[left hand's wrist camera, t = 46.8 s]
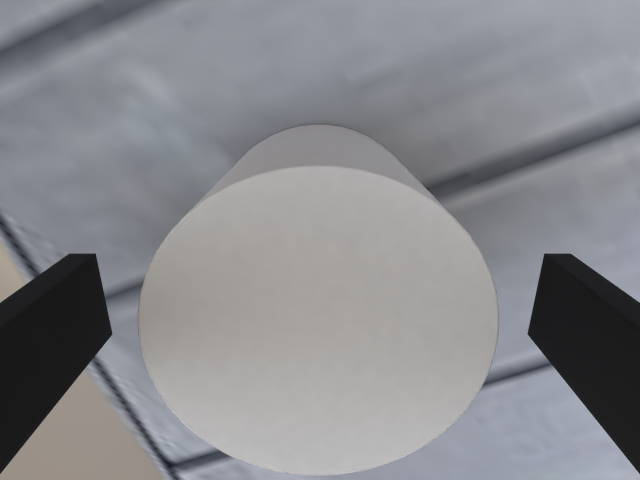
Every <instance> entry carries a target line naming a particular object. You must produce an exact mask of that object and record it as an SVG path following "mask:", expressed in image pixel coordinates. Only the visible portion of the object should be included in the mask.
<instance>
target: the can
mask: <svg viewBox="0 0 640 480" xmlns="http://www.w3.org/2000/svg"><path fill="white" fill-rule="evenodd" d="M498 331H499V309H498V301H497V293H496V290H495V286H494V283H493V279H492V276H491V272H490V270H489V268H488V266H487V264H486V262H485V259H484V257H483V255H482V253H481V251H480V250H479V248H478V247H477V245H476V244H475V242H474V241H473V239H472V238H471V236H470V235H469V233H468V232H467V231H466V230H465V229H464V228H463V227H462V226H461V225H460V223H459V222H458V221H457V220H456V219H455V218H454V217H453V216H452V215H451V214H450V213H449V212H448V211H447V210H446V209H445V208H444V207H443V206H442V205H441V203H440V202H439V201H438V200H437V199H436V198H435V197H434V196H433V195H432V194H431V193H430V192H429V191H428V190H427V189H426V188H425V187H424V186H423V185H422V184H421V183H420V182H419V181H418V180H417V179H416V178H415V177H414V176H413V175H412V174H411V173H410V172H409V171H408V170H407V169H406V168H405V167H404V166H403V165H402V164H401V163H400V162H399V161H398V159H397V158H396V157H395V156H394V155H393V154H392V153H391V152H389V151H388V150H387V149H386V148H385V147H383V146H382V145H381V144H380V143H378V142H376V141H375V140H373V139H371V138H370V137H368V136H366V135H364V134H361V133H359V132H357V131H354V130H351V129H347V128H344V127H340V126H333V125H305V126H297V127H294V128H290V129H286V130H283V131H281V132H278V133H276V134H274V135H271V136H269V137H268V138H266V139H264V140H263V141H261V142H259V143H258V144H257V145H255V146H254V147H253V148H252V149H250V150H249V151H248V152H247V153H246V154H245V155H244V156H243V157H242V158H241V159H240V160H239V161H238V162H237V163H236V164H235V165H234V166H233V167H232V168H231V169H230V170H229V171H228V172H227V173H226V174H225V175H224V176H223V177H222V178H221V179H220V180H219V181H218V182H217V183H216V184H215V185H214V186H213V188H212V189H211V190H210V191H209V192H208V193H207V194H206V195H205V196H204V197H203V198H202V199H201V200H200V201H199V202H198V203H197V204H196V205H195V206H194V207H193V208H192V209H191V210H190V211H189V212H188V213H187V214H186V215H185V216H184V217H183V218H182V219H181V220H180V221H179V223H178V224H177V225H176V226H175V227H174V228H173V229H172V230H171V231H170V232H169V234H168V235H167V237H166V238H165V240H164V241H163V242H162V244H161V245H160V247H159V248H158V250H157V252H156V254H155V256H154V258H153V260H152V262H151V264H150V266H149V268H148V270H147V273H146V276H145V280H144V283H143V286H142V289H141V295H140V302H139V309H138V333H139V339H140V345H141V351H142V355H143V358H144V361H145V364H146V367H147V370H148V373H149V375H150V377H151V379H152V381H153V383H154V385H155V387H156V389H157V391H158V392H159V394H160V395H161V397H162V398H163V400H164V401H165V403H166V404H167V406H168V407H169V408H170V409H171V410H172V412H173V413H174V414H175V415H176V416H177V417H178V418H179V420H180V421H181V422H182V423H183V424H185V425H186V426H187V427H188V428H189V429H190V430H191V431H192V432H194V433H195V434H196V435H197V436H199V437H200V438H201V439H203V440H204V441H206V442H207V443H209V444H210V445H211V446H213V447H215V448H217V449H218V450H220V451H222V452H224V453H226V454H227V455H229V456H232V457H234V458H236V459H239V460H241V461H243V462H246V463H248V464H251V465H255V466H258V467H261V468H265V469H268V470H273V471H278V472H283V473H289V474H299V475H338V474H348V473H354V472H359V471H364V470H369V469H372V468H375V467H379V466H382V465H386V464H388V463H391V462H393V461H396V460H398V459H401V458H403V457H405V456H407V455H409V454H411V453H413V452H415V451H417V450H418V449H420V448H422V447H424V446H425V445H427V444H428V443H430V442H431V441H433V440H434V439H435V438H437V437H438V436H440V435H441V434H442V433H443V432H444V431H446V430H447V429H448V428H449V427H450V426H451V425H452V424H453V423H455V422H456V420H457V419H458V418H459V417H460V416H461V415H462V414H463V413H464V412H465V410H466V409H467V408H468V407H469V406H470V404H471V403H472V401H473V400H474V398H475V397H476V395H477V394H478V392H479V391H480V389H481V387H482V385H483V383H484V381H485V379H486V377H487V375H488V373H489V370H490V367H491V364H492V361H493V358H494V355H495V350H496V345H497V340H498Z"/></svg>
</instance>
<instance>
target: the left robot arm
mask: <svg viewBox="0 0 640 480" xmlns="http://www.w3.org/2000/svg"><path fill="white" fill-rule="evenodd" d="M111 335H112V330H111V325H110V321H109V316H108V311H107V306H106V301H105V297H104V292H103V287H102V282H101V277H100V272H99V268H98V263H97V258H96V254H68V255H67V256H65V257H64V258H63V259H61V260H60V261H58V262H57V263H56V264H54V265H53V266H51V267H50V268H49V269H47V270H46V271H44V272H43V273H42V274H40V275H39V276H37V277H36V278H35V279H33V280H32V281H30V282H29V283H27V284H26V285H25V286H23V287H22V288H20V289H19V290H18V291H16V292H15V293H13V294H12V295H11V296H9V297H8V298H6V299H5V300H4V301H2V302H1V303H0V473H1V472H2V471H3V470H4V468H5V467H6V466H7V465H8V464H9V462H10V461H11V460H12V459H13V457H14V456H15V455H16V454H17V452H18V451H19V450H20V448H21V447H22V446H23V445H24V444H25V442H26V441H27V440H28V439H29V437H30V436H31V435H32V434H33V432H34V431H35V430H36V429H37V427H38V426H39V425H40V424H41V422H42V421H43V420H44V419H45V417H46V416H47V415H48V414H49V412H50V411H51V410H52V409H53V407H54V406H55V405H56V404H57V403H58V401H59V400H60V399H61V397H62V396H63V395H64V394H65V392H66V391H67V390H68V389H69V387H70V386H71V385H72V384H73V383H74V381H75V380H76V379H77V378H78V376H79V375H80V374H81V373H82V371H83V370H84V369H85V368H86V366H87V365H88V364H89V363H90V361H91V360H92V359H93V358H94V356H95V355H96V354H97V353H98V351H99V350H100V349H101V348H102V346H103V345H104V344H105V343H106V341H107V340H108V339H109V338H110V336H111ZM528 335H529V336H530V338H531V339H532V340H533V341H534V343H535V344H536V345H537V346H538V348H539V349H540V350H541V351H542V353H543V354H544V355H545V356H546V358H547V359H548V360H549V361H550V363H551V364H552V365H553V366H554V368H555V369H556V370H557V371H558V373H559V374H560V375H561V376H562V378H563V379H564V380H565V381H566V383H567V384H568V385H569V386H570V388H571V389H572V390H573V391H574V393H575V394H576V395H577V396H578V398H579V399H580V400H581V401H582V403H583V404H584V405H585V406H586V407H587V409H588V410H589V411H590V412H591V414H592V415H593V416H594V417H595V419H596V420H597V421H598V422H599V424H600V425H601V426H602V427H603V429H604V430H605V431H606V432H607V434H608V435H609V436H610V437H611V439H612V440H613V441H614V442H615V444H616V445H617V446H618V447H619V449H620V450H621V451H622V452H623V454H624V455H625V456H626V457H627V459H628V460H629V461H630V462H631V464H632V465H633V466H634V467H635V469H636V470H637V471H638V472H639V474H640V303H639V302H638V301H636V300H635V299H634V298H632V297H631V296H629V295H628V294H627V293H625V292H624V291H622V290H621V289H620V288H618V287H617V286H615V285H614V284H613V283H611V282H610V281H608V280H607V279H605V278H604V277H603V276H601V275H600V274H598V273H597V272H596V271H594V270H593V269H591V268H590V267H589V266H587V265H586V264H584V263H583V262H582V261H580V260H579V259H577V258H576V257H575V256H573V255H572V254H544V258H543V263H542V268H541V272H540V277H539V282H538V287H537V292H536V297H535V301H534V306H533V311H532V316H531V321H530V325H529V330H528Z"/></svg>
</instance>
